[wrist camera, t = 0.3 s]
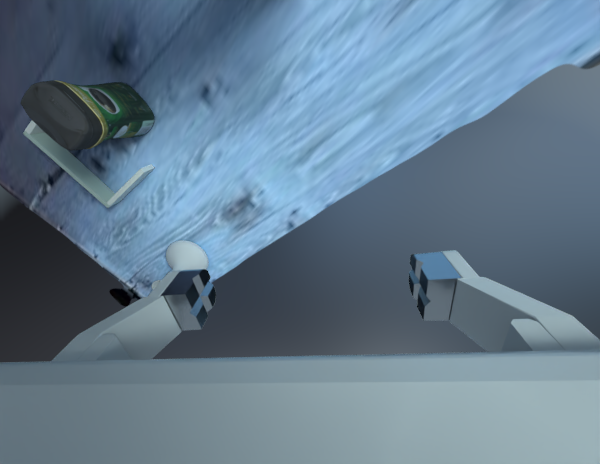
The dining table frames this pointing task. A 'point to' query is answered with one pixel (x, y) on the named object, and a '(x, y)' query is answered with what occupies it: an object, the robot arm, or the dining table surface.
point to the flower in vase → (185, 257)
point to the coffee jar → (87, 112)
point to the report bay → (82, 168)
